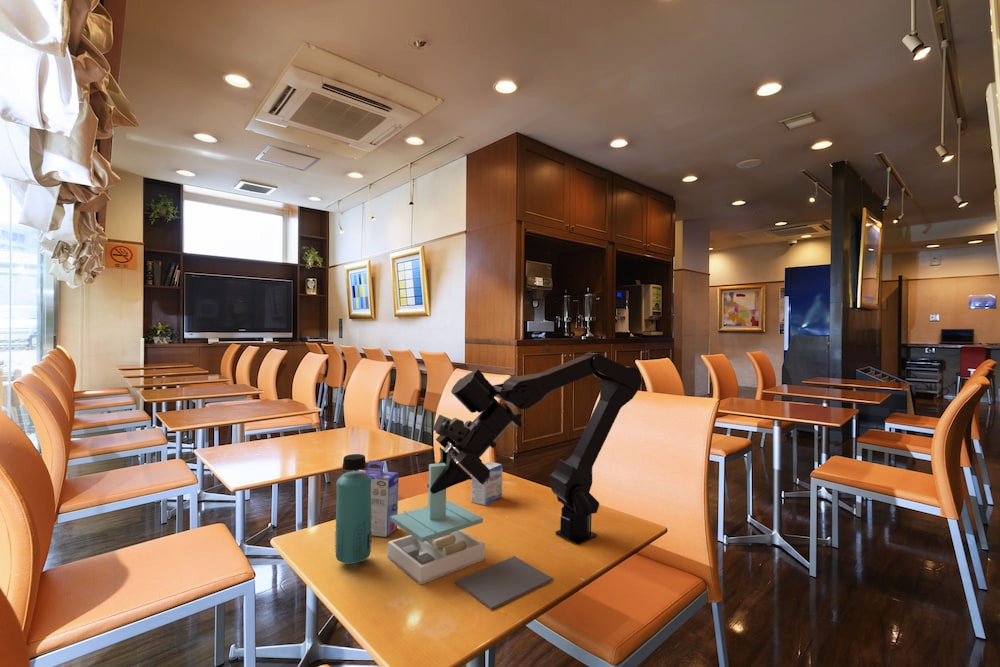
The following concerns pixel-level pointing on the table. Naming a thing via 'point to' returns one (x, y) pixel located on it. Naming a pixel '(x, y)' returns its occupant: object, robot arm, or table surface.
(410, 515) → the lid
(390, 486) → the ink cartridge box
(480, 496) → the medicine box
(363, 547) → the beverage bottle
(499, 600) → the mat
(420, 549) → the tub
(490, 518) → the table surface
